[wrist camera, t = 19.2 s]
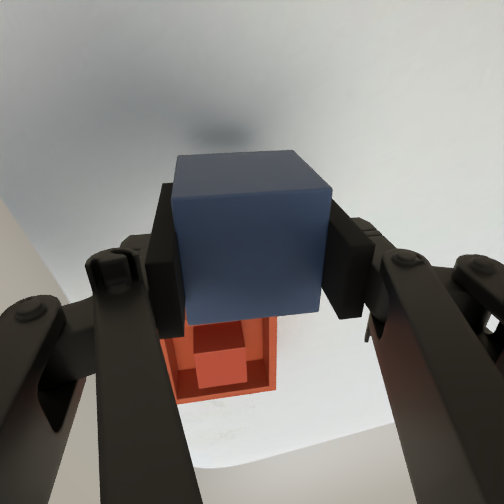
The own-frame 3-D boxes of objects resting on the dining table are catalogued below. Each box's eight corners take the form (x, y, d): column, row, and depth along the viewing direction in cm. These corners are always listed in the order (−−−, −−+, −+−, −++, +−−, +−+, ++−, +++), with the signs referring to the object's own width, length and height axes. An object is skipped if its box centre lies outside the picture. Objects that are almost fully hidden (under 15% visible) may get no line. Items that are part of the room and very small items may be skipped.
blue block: (176, 154, 14) (170, 198, 10) (293, 149, 15) (334, 187, 11) (189, 257, 17) (187, 327, 13) (288, 249, 17) (319, 312, 13)
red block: (193, 318, 37) (193, 354, 32) (239, 313, 37) (245, 347, 33) (198, 352, 39) (198, 389, 35) (241, 346, 40) (247, 382, 35)
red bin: (156, 294, 35) (152, 324, 31) (268, 281, 36) (277, 309, 32) (172, 371, 41) (170, 405, 37) (268, 358, 42) (276, 390, 38)
